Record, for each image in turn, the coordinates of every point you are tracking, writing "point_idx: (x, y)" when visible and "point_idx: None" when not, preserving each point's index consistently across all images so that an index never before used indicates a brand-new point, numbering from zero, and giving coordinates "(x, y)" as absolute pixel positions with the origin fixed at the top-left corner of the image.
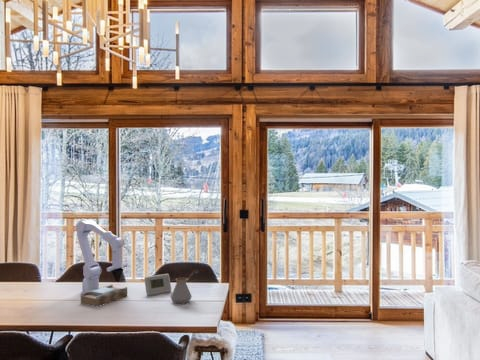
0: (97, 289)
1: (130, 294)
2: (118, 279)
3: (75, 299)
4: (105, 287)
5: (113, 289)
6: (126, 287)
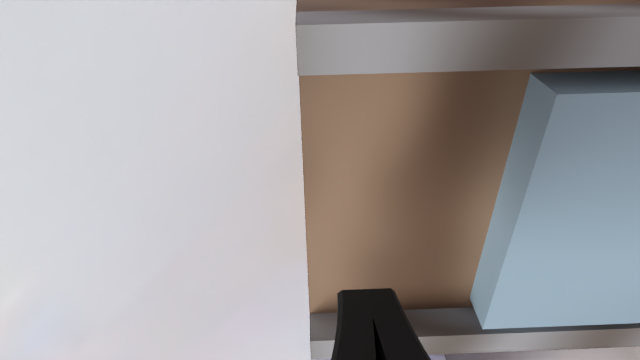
0: (633, 321)
1: (188, 21)
2: (395, 325)
3: (607, 351)
4: (499, 314)
5: (595, 133)
6: (323, 24)
